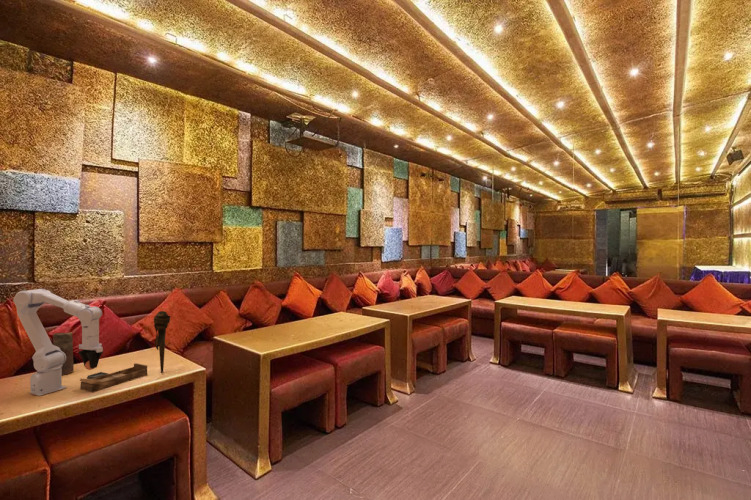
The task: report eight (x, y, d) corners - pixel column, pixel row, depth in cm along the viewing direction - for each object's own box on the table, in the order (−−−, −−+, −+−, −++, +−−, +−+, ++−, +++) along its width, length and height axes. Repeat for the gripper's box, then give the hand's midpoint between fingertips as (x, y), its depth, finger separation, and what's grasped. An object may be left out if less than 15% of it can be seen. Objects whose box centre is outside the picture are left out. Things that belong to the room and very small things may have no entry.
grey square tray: (94, 383, 160) (94, 377, 160) (86, 381, 162) (86, 375, 163) (109, 379, 165) (109, 373, 165) (101, 377, 168) (101, 371, 168)
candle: (49, 375, 172) (49, 333, 172) (67, 370, 179) (66, 330, 179) (60, 376, 170) (59, 334, 170) (77, 371, 177) (77, 331, 177)
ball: (98, 368, 155) (98, 359, 155) (88, 371, 151) (88, 362, 151) (93, 367, 157) (93, 358, 157) (83, 370, 153) (83, 360, 153)
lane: (91, 392, 150) (91, 381, 150) (79, 389, 154) (79, 378, 154) (147, 374, 171) (147, 365, 171) (135, 372, 175) (135, 363, 175)
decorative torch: (163, 369, 178) (162, 309, 179) (173, 371, 176) (173, 310, 176) (150, 374, 172) (150, 311, 172) (160, 375, 170) (160, 312, 170)
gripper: (110, 335, 154) (110, 366, 154) (91, 332, 161) (92, 362, 161) (91, 338, 148) (92, 371, 148) (73, 335, 154) (73, 367, 154)
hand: (90, 367), depth 154 cm, fingers closed on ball, 4 cm apart
